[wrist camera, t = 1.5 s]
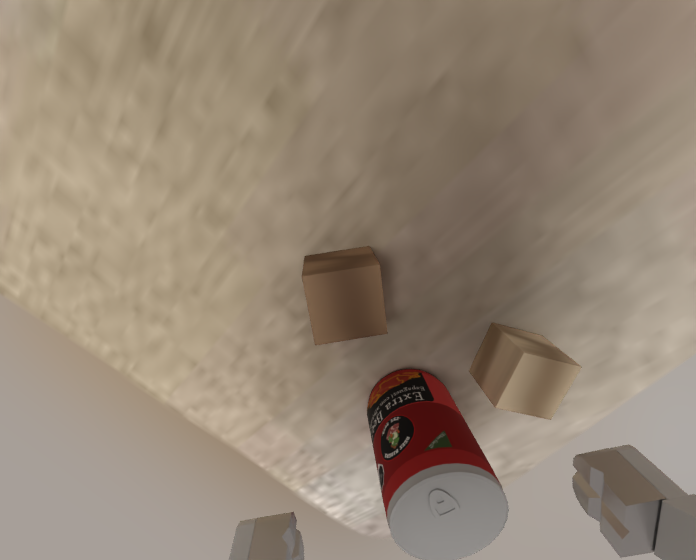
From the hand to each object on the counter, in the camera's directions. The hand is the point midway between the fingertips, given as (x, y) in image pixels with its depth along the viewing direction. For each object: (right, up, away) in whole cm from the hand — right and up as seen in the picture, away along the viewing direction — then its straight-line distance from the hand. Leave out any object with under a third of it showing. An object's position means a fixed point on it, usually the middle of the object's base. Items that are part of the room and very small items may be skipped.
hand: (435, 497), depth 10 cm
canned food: (+3, -5, +22) cm, 23 cm away
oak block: (+12, 0, +21) cm, 24 cm away
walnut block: (-3, +6, +18) cm, 19 cm away
